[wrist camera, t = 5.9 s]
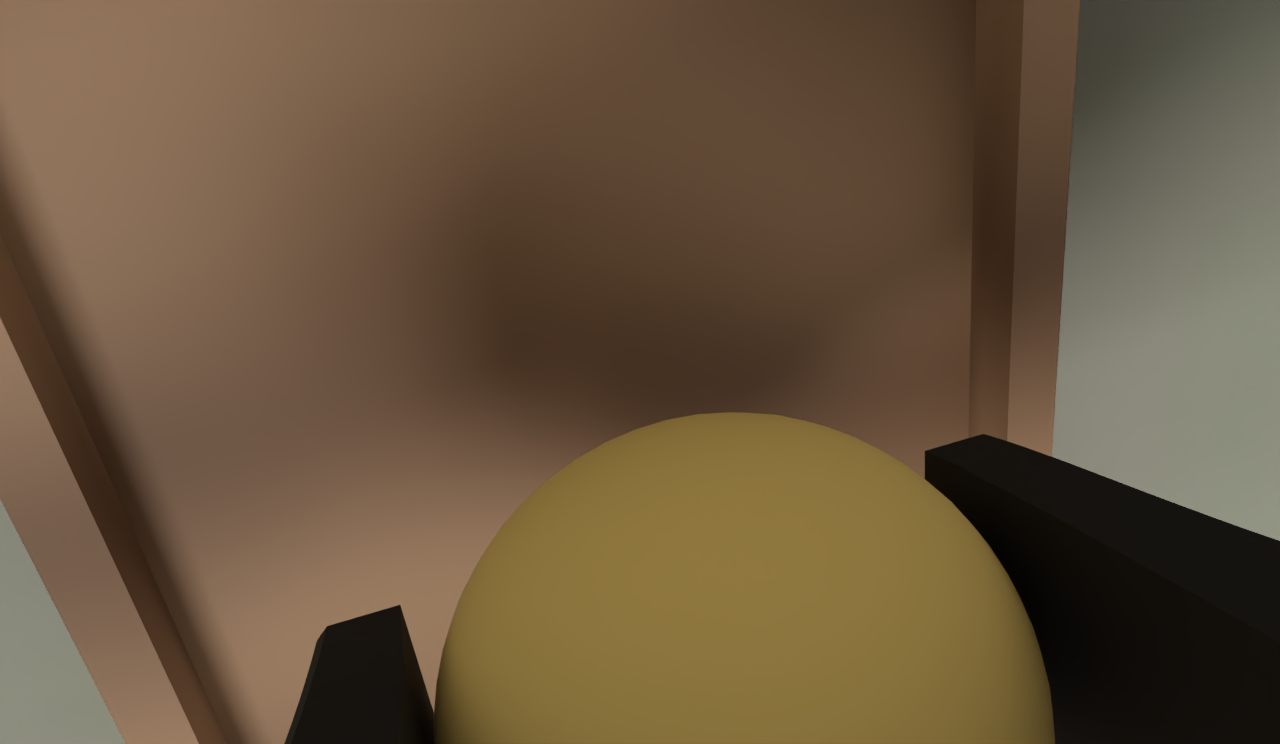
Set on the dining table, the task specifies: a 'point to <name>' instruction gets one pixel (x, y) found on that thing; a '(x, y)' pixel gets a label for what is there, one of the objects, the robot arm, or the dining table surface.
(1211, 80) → the dining table surface
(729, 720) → the ball
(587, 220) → the tray
